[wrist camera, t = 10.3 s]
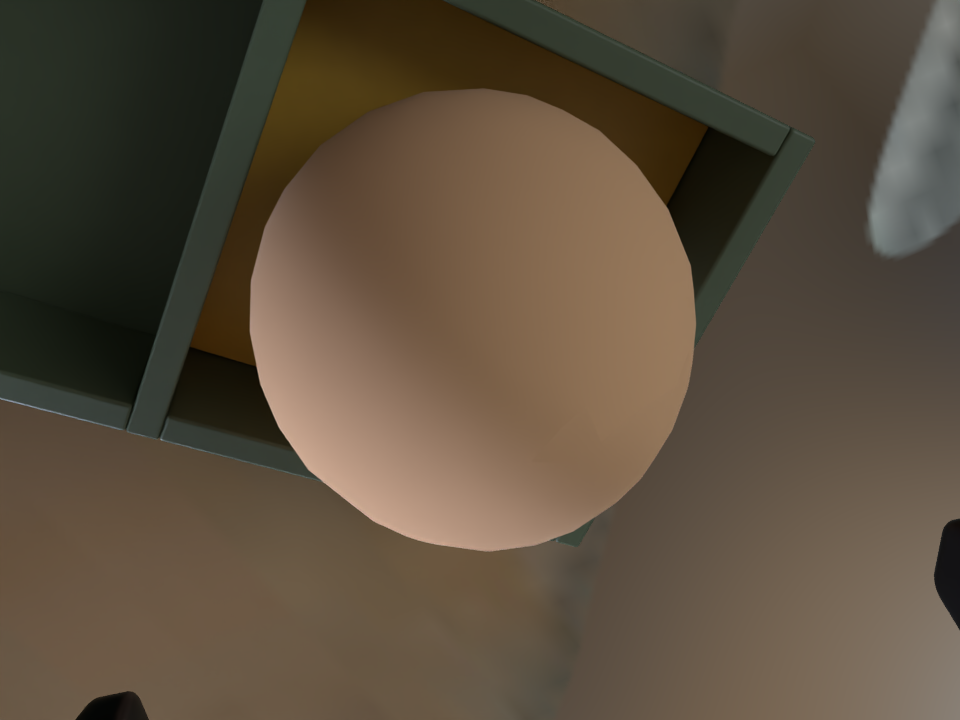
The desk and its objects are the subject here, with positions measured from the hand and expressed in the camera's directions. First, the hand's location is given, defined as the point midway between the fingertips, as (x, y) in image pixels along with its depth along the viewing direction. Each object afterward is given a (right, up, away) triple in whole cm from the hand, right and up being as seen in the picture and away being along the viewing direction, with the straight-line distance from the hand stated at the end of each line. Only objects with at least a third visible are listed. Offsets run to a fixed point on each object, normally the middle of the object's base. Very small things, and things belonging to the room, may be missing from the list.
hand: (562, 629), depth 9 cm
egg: (-2, +6, +9) cm, 11 cm away
